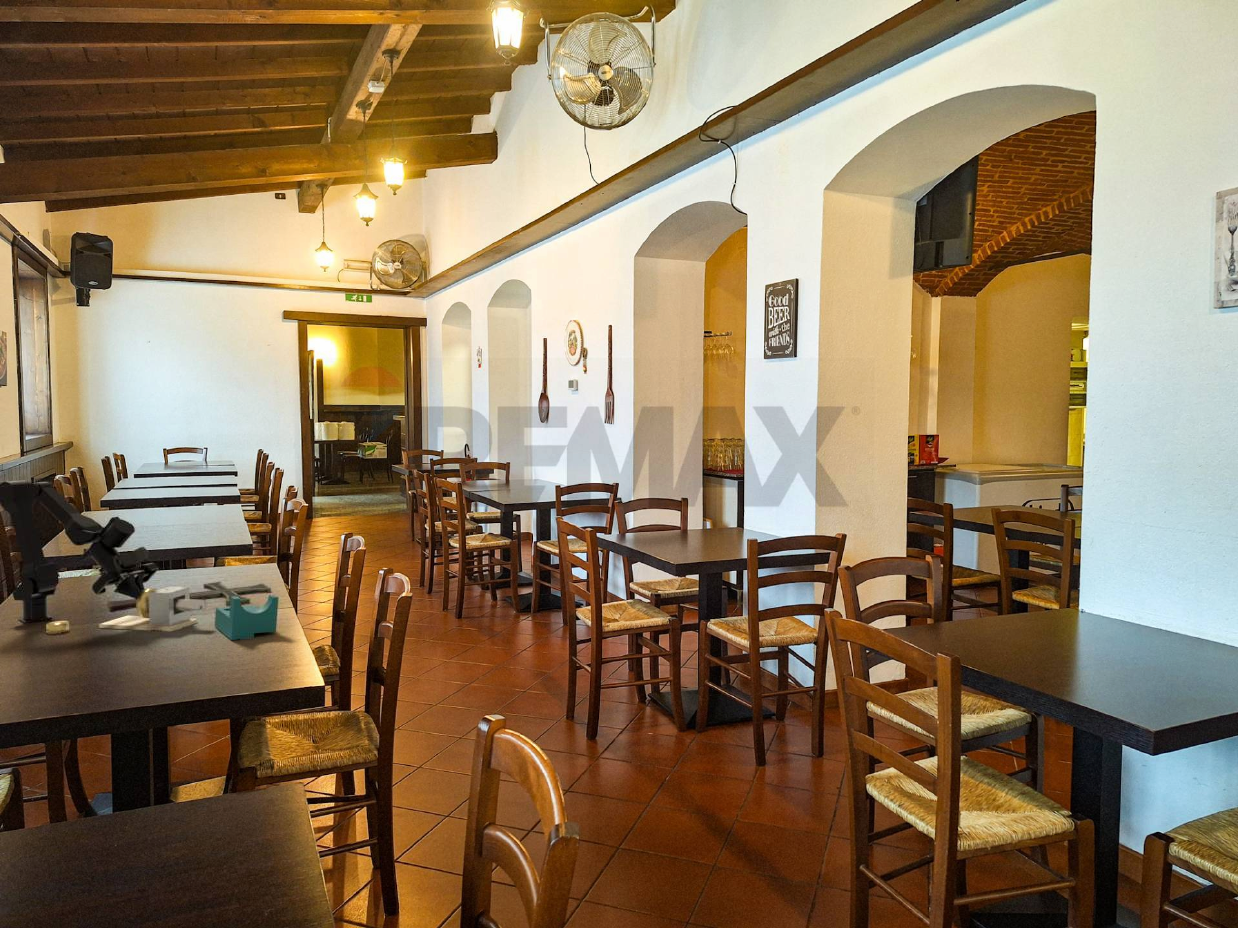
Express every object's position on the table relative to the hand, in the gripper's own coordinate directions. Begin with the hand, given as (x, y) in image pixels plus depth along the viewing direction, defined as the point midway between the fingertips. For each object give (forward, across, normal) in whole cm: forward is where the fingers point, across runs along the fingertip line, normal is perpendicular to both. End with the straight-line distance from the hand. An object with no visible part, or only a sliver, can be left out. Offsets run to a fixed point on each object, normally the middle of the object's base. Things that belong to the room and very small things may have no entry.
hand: (146, 600), depth 228 cm
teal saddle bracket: (+26, -1, -16) cm, 31 cm away
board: (+5, 0, +4) cm, 7 cm away
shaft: (+10, 0, -3) cm, 10 cm away
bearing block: (+9, 0, -1) cm, 9 cm away
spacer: (-8, -10, +18) cm, 22 cm away
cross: (-2, +32, +13) cm, 35 cm away
